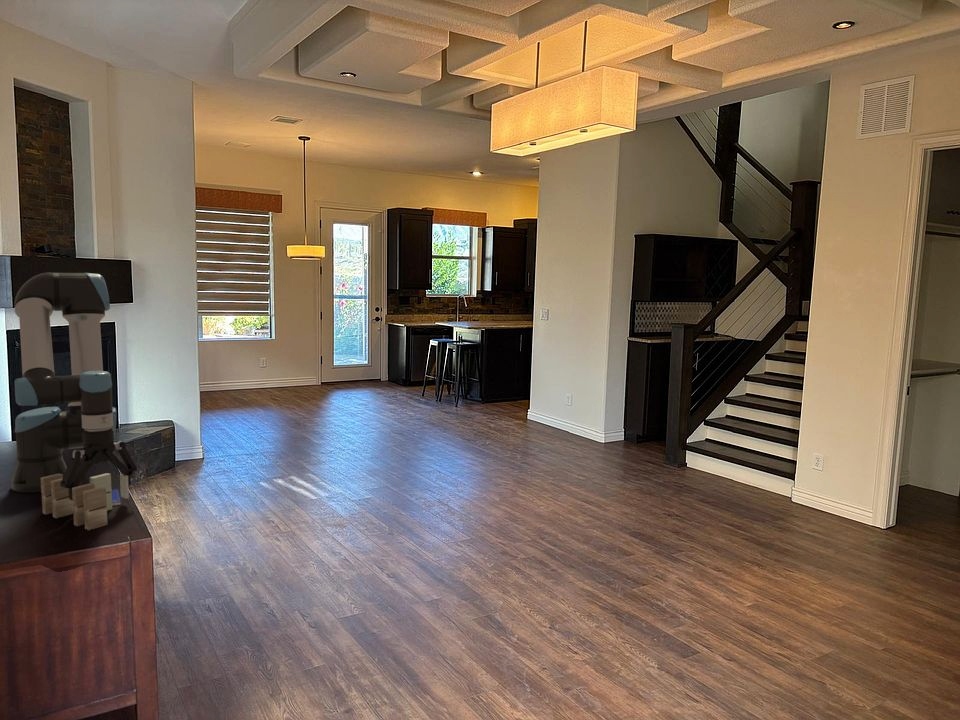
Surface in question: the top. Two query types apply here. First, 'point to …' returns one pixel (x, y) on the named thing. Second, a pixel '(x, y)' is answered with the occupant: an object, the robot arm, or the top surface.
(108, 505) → the domino
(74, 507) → the domino
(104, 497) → the domino
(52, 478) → the domino
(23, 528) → the top surface
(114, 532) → the top surface
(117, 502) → the hard drive
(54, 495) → the domino
